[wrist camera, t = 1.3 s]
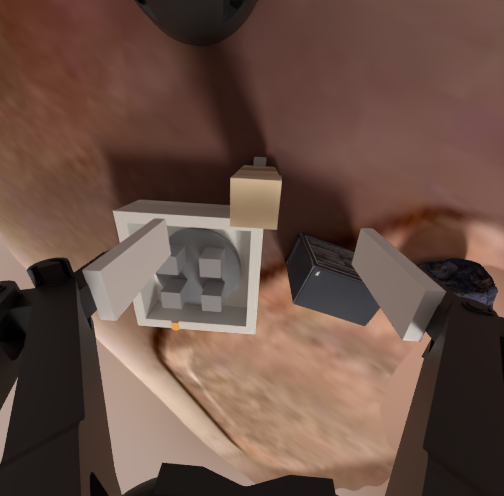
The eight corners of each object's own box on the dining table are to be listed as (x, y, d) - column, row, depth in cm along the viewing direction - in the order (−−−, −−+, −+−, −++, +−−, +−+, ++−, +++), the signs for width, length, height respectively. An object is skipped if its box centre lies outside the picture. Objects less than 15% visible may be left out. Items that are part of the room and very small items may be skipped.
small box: (283, 264, 37) (290, 305, 28) (299, 230, 35) (313, 263, 25) (340, 284, 38) (365, 330, 29) (360, 252, 36) (395, 291, 26)
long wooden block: (238, 155, 30) (217, 163, 17) (282, 157, 30) (296, 167, 17) (237, 199, 33) (218, 236, 19) (277, 201, 33) (287, 241, 19)
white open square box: (139, 199, 34) (111, 211, 27) (263, 207, 33) (263, 221, 27) (156, 299, 42) (136, 327, 35) (256, 307, 41) (255, 336, 35)
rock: (490, 249, 31) (526, 318, 26) (451, 283, 40) (472, 342, 34) (404, 245, 34) (419, 307, 28) (384, 278, 42) (393, 331, 37)
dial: (146, 223, 33) (125, 237, 28) (242, 230, 32) (237, 245, 27) (158, 295, 38) (142, 317, 33) (239, 301, 38) (235, 324, 33)
